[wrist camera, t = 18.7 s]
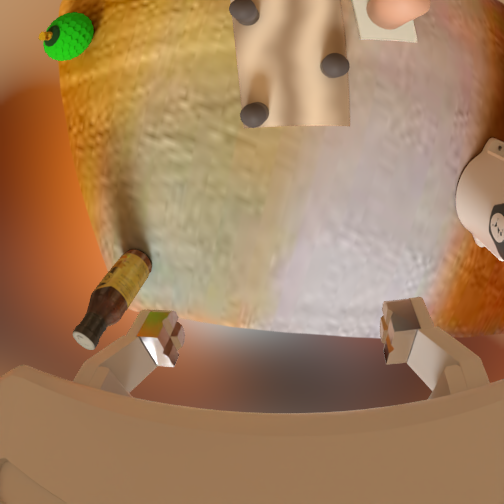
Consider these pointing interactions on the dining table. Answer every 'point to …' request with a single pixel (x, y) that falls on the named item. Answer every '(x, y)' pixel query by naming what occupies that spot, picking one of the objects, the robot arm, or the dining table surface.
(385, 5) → the tan cylinder block
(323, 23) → the post board
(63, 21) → the ornament
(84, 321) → the sauce bottle
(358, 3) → the mat
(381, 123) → the dining table surface
